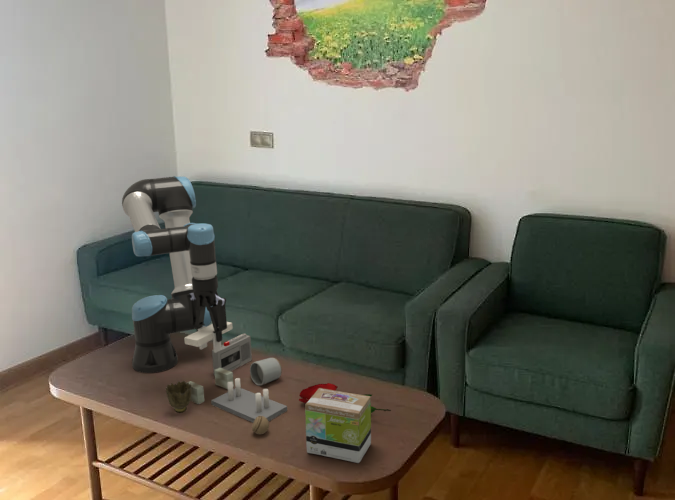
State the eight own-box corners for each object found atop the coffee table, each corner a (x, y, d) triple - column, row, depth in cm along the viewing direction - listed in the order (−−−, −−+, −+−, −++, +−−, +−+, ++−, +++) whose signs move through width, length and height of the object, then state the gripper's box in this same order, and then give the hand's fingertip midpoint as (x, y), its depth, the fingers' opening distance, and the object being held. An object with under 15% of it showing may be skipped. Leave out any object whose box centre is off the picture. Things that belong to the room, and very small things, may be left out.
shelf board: (197, 346, 203) (197, 340, 203) (184, 343, 206) (184, 337, 205) (232, 328, 216) (232, 322, 216) (220, 326, 219) (219, 320, 218)
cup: (171, 419, 202) (169, 394, 200) (165, 408, 208) (162, 384, 206) (196, 413, 205) (194, 388, 203) (189, 402, 211) (187, 378, 209)
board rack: (185, 398, 214) (184, 383, 213) (221, 381, 225) (220, 367, 223) (198, 404, 210) (196, 389, 209) (233, 386, 221) (232, 372, 220)
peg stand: (211, 404, 210) (209, 383, 208) (238, 391, 218) (237, 370, 216) (260, 426, 197) (259, 403, 195) (287, 410, 205) (286, 389, 203)
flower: (393, 384, 195) (300, 373, 209) (382, 412, 189) (288, 399, 203) (401, 403, 200) (310, 392, 214) (391, 431, 194) (298, 417, 208)
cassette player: (219, 377, 228) (217, 349, 226) (213, 375, 230) (211, 347, 227) (251, 360, 240) (250, 333, 238) (246, 358, 242) (244, 331, 239)
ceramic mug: (284, 380, 224) (282, 358, 222) (264, 389, 219) (262, 366, 217) (264, 371, 232) (262, 349, 230) (244, 379, 226) (242, 357, 225)
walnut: (260, 426, 197) (259, 410, 195) (273, 432, 194) (272, 415, 192) (247, 434, 193) (246, 417, 192) (260, 439, 190) (259, 423, 189)
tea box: (305, 454, 182) (303, 403, 178) (320, 435, 191) (318, 386, 187) (360, 464, 177) (358, 412, 173) (372, 444, 186) (371, 394, 182)
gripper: (172, 275, 207) (179, 348, 213) (219, 283, 198) (225, 359, 204) (190, 269, 214) (196, 340, 220) (236, 276, 205) (241, 350, 211)
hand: (210, 349), depth 212 cm, fingers closed on shelf board, 5 cm apart
